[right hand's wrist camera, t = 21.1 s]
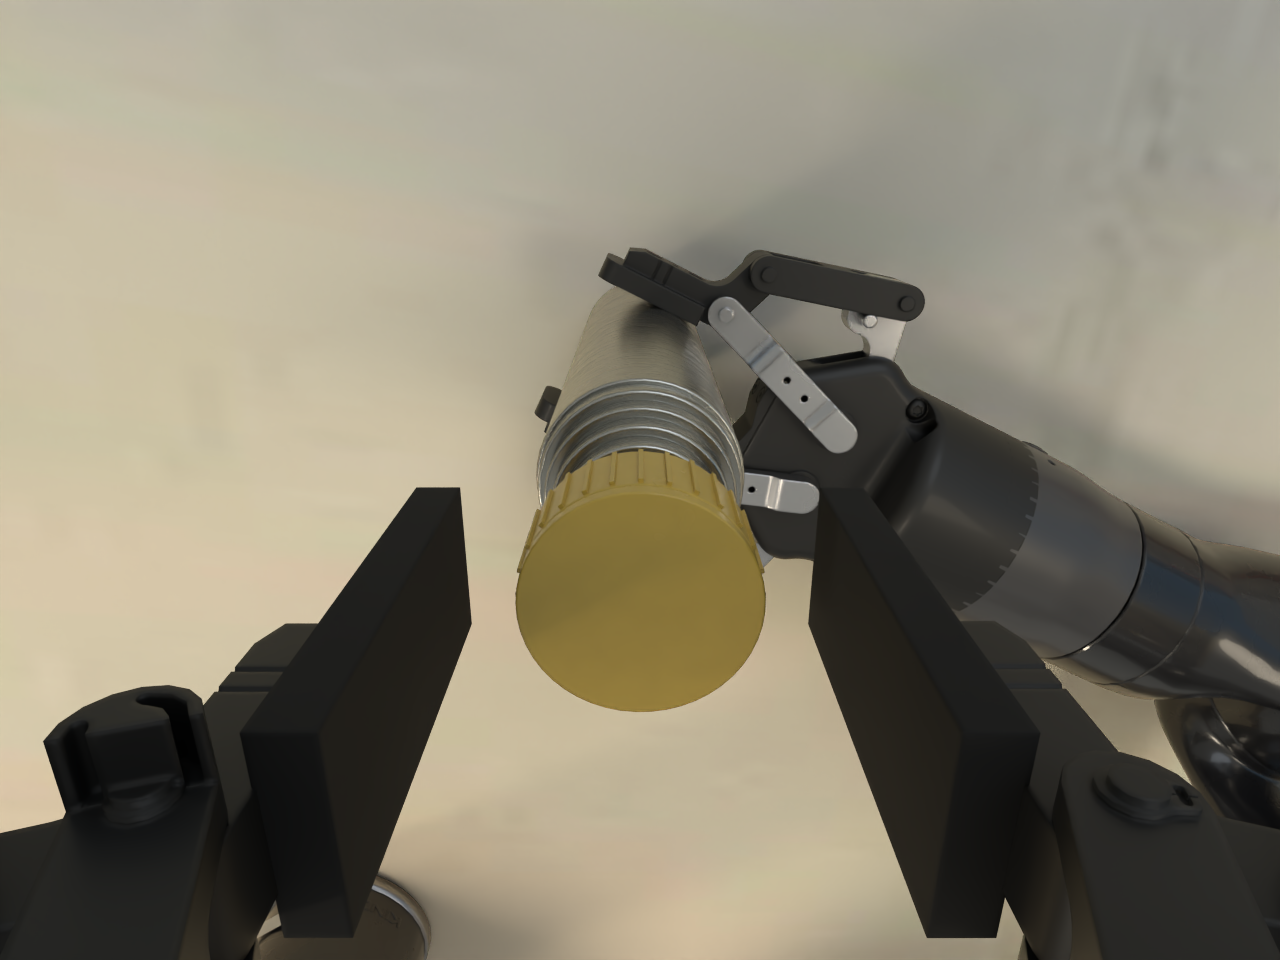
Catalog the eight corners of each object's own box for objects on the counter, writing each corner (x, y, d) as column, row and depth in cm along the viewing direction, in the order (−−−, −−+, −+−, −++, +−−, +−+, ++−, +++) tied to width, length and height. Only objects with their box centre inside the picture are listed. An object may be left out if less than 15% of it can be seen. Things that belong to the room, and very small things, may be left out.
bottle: (704, 291, 34) (811, 479, 13) (683, 397, 35) (747, 721, 14) (594, 271, 33) (517, 430, 12) (578, 379, 35) (485, 682, 14)
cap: (797, 521, 14) (820, 573, 12) (673, 683, 15) (677, 753, 14) (603, 403, 13) (597, 440, 12) (488, 584, 15) (466, 642, 13)
